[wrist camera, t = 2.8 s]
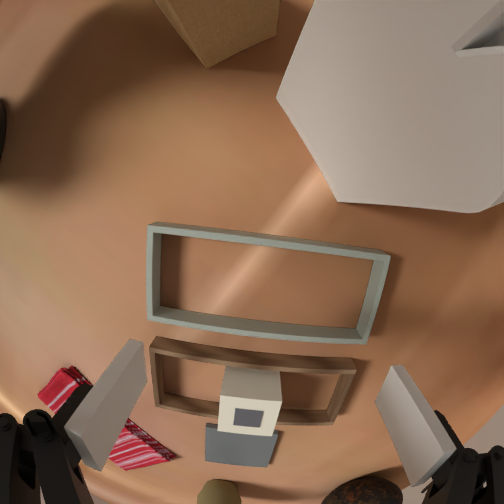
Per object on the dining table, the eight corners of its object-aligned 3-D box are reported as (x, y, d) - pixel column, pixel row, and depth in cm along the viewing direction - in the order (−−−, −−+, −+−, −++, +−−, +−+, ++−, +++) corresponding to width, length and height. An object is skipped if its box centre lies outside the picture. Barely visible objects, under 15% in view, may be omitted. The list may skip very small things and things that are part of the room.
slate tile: (205, 457, 35) (205, 460, 34) (206, 422, 32) (205, 426, 31) (267, 463, 34) (267, 467, 34) (278, 430, 32) (278, 434, 31)
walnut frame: (160, 394, 31) (155, 406, 29) (156, 336, 29) (149, 347, 27) (329, 412, 31) (332, 425, 29) (351, 357, 29) (356, 369, 27)
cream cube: (223, 396, 31) (217, 431, 25) (226, 360, 29) (219, 395, 23) (270, 401, 31) (271, 437, 25) (279, 366, 29) (282, 402, 23)
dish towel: (71, 357, 31) (62, 367, 29) (179, 453, 35) (176, 464, 33) (39, 388, 34) (32, 395, 32) (127, 465, 38) (123, 474, 36)
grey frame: (155, 309, 28) (147, 319, 26) (156, 221, 26) (147, 225, 23) (359, 333, 28) (366, 344, 26) (381, 250, 26) (391, 255, 23)
